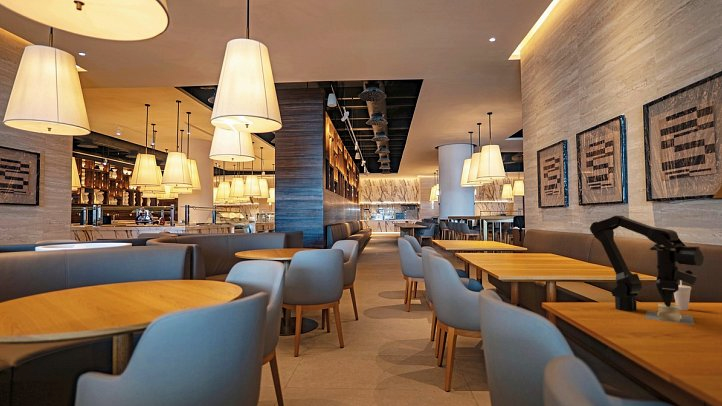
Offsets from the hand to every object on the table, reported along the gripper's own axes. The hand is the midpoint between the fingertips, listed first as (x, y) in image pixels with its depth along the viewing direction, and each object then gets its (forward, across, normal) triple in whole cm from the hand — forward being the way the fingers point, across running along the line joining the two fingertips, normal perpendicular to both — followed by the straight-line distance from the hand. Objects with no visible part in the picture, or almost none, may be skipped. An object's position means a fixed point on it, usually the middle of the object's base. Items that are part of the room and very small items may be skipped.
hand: (668, 304), depth 139 cm
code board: (+6, +3, 0) cm, 7 cm away
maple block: (+5, 0, 0) cm, 5 cm away
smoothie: (+6, +26, -4) cm, 27 cm away
